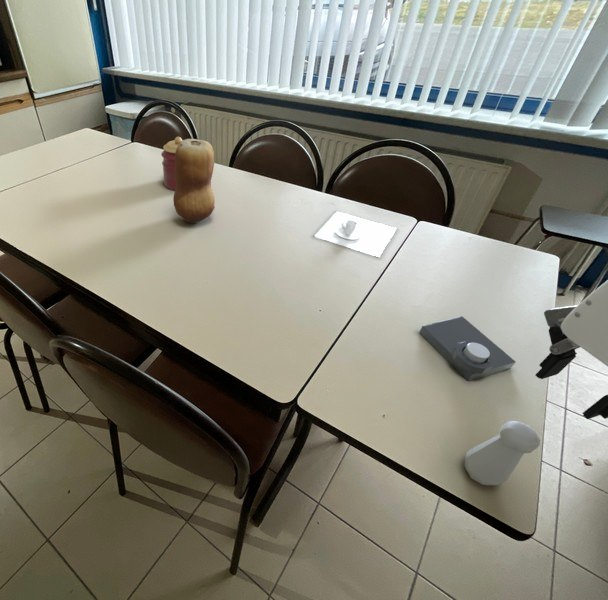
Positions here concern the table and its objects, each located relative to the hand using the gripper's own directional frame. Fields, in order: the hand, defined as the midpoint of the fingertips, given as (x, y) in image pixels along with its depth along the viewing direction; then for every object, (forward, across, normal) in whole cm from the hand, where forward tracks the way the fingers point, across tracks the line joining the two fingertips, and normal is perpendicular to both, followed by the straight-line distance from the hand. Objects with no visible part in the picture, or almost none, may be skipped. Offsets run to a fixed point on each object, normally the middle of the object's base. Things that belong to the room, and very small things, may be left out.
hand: (569, 392), depth 45 cm
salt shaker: (+23, 0, 0) cm, 23 cm away
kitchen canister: (+23, +122, +21) cm, 126 cm away
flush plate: (+22, +22, -18) cm, 36 cm away
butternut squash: (+23, +94, +23) cm, 99 cm away
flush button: (+19, +18, -15) cm, 30 cm away
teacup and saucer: (+23, +71, -24) cm, 78 cm away
